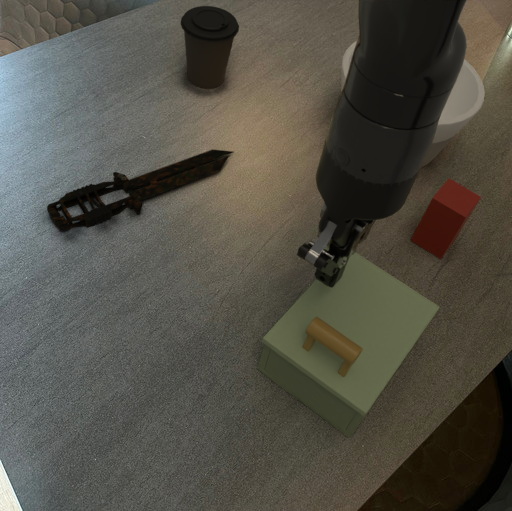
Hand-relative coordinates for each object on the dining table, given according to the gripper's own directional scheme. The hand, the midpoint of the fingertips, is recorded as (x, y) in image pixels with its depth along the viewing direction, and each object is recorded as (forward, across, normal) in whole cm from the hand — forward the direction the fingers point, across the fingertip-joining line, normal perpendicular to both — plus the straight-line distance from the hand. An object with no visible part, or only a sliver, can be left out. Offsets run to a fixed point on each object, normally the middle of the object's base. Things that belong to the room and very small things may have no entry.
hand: (327, 278), depth 61 cm
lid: (+4, 0, -4) cm, 6 cm away
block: (+10, +22, -5) cm, 25 cm away
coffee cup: (+10, +26, +36) cm, 46 cm away
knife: (+10, +4, +27) cm, 29 cm away
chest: (+10, 0, -4) cm, 11 cm away
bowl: (+10, +35, +9) cm, 38 cm away
